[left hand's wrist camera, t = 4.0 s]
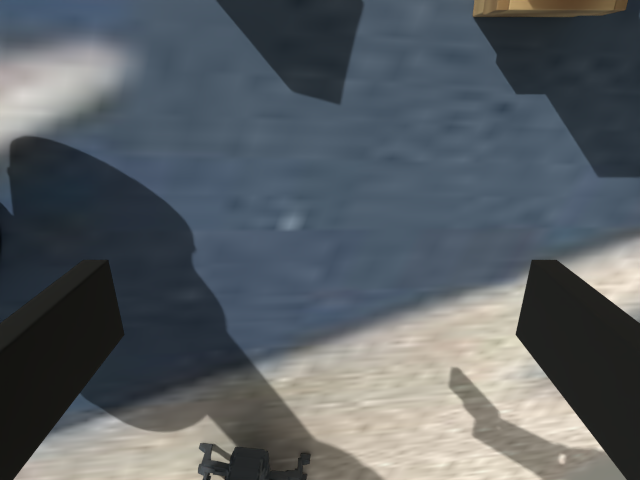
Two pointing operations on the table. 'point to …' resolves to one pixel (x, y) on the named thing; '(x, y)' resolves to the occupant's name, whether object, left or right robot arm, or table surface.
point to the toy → (248, 465)
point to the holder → (546, 8)
